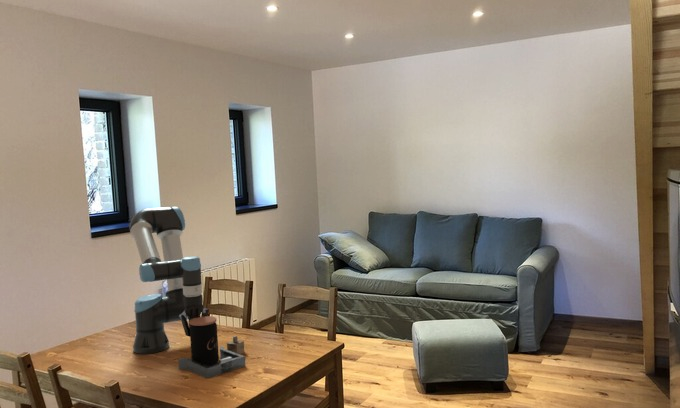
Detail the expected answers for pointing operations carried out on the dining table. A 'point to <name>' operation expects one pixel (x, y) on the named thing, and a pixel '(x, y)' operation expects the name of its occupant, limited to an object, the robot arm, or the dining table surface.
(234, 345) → the grey block
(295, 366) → the dining table surface
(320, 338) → the dining table surface
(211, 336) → the coffee jar
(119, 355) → the dining table surface
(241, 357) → the gray rectangular tray
